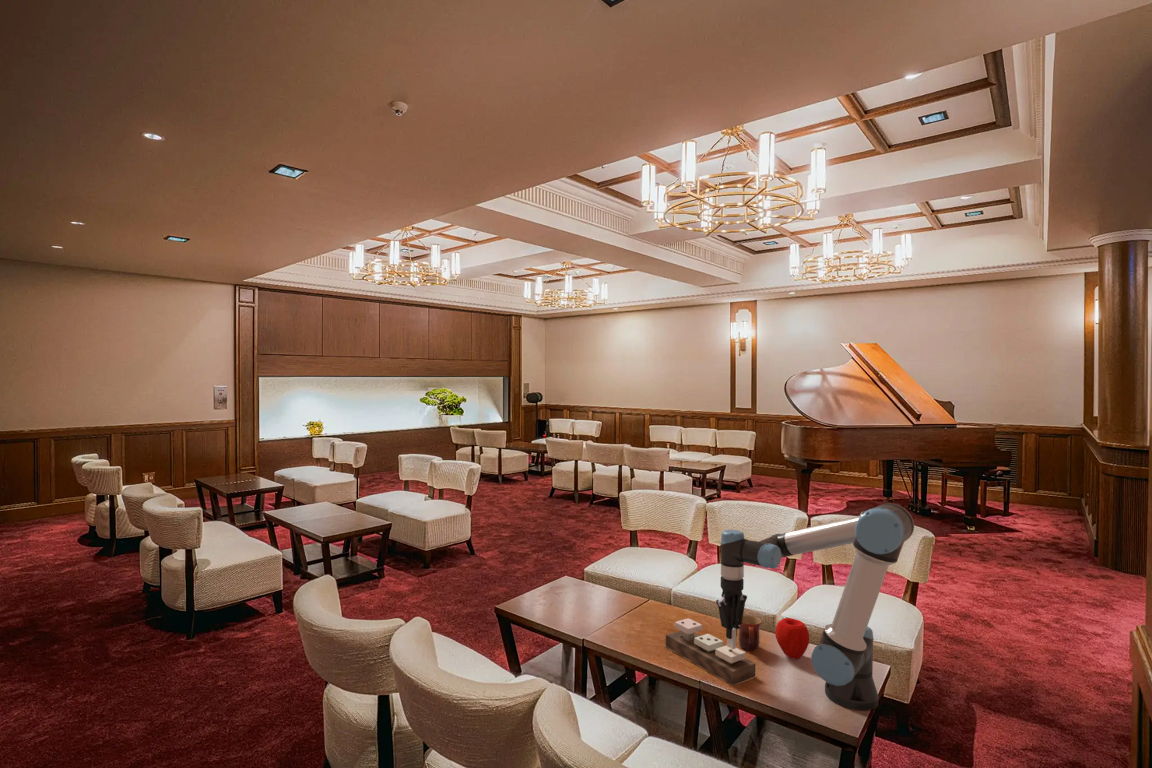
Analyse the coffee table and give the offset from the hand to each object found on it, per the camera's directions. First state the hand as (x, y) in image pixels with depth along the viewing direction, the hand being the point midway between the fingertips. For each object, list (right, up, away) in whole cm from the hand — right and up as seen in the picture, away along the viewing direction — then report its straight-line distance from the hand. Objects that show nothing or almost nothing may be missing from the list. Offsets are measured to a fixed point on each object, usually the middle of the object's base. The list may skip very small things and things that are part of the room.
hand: (731, 647), depth 190 cm
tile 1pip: (0, -8, 0) cm, 8 cm away
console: (-6, -9, +9) cm, 14 cm away
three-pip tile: (-6, -8, +8) cm, 13 cm away
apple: (+25, -10, +13) cm, 30 cm away
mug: (+12, -10, +19) cm, 24 cm away
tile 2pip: (-11, -6, +17) cm, 21 cm away
